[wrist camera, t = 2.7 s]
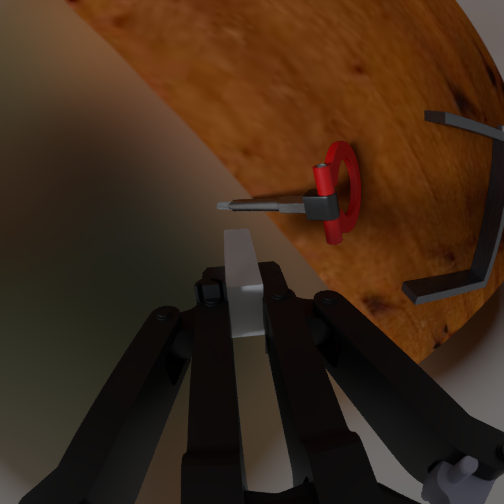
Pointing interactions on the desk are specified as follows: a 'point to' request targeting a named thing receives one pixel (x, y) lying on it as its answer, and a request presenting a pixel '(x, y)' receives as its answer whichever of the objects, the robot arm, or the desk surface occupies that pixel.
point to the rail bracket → (495, 218)
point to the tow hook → (317, 196)
